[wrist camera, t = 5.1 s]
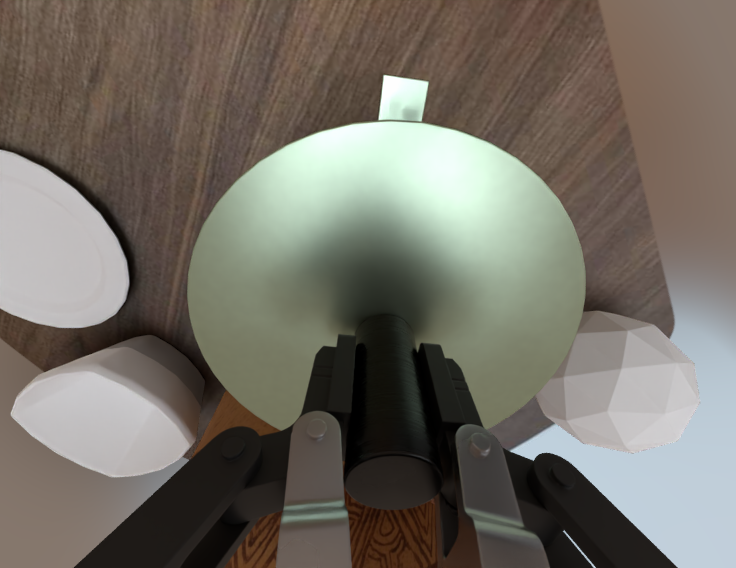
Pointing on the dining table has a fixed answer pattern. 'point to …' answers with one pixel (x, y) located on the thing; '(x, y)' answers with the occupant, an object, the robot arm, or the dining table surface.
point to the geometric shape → (621, 385)
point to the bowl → (117, 407)
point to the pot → (366, 524)
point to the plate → (56, 250)
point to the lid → (387, 286)
